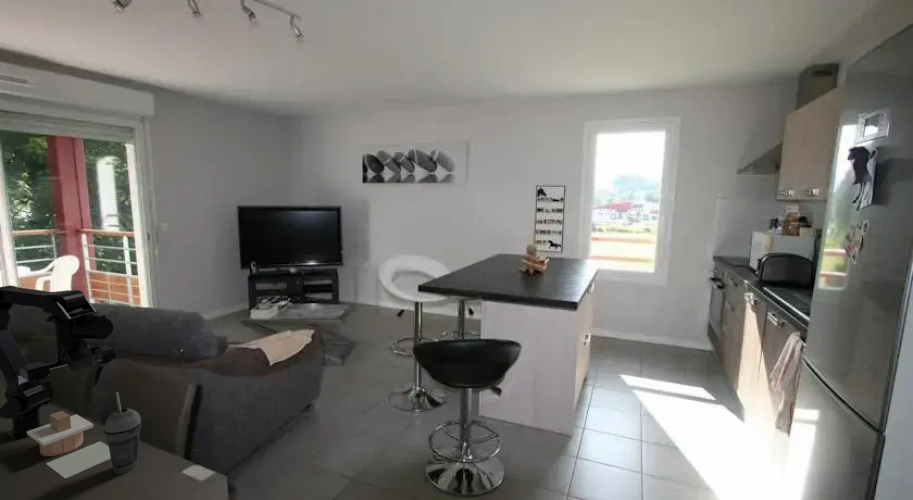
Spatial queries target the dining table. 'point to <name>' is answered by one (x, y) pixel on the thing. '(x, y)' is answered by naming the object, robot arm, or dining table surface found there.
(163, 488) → the dining table surface
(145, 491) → the dining table surface
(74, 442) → the segmented pink ring
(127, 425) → the beverage cup
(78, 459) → the mat
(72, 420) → the cover sheet
